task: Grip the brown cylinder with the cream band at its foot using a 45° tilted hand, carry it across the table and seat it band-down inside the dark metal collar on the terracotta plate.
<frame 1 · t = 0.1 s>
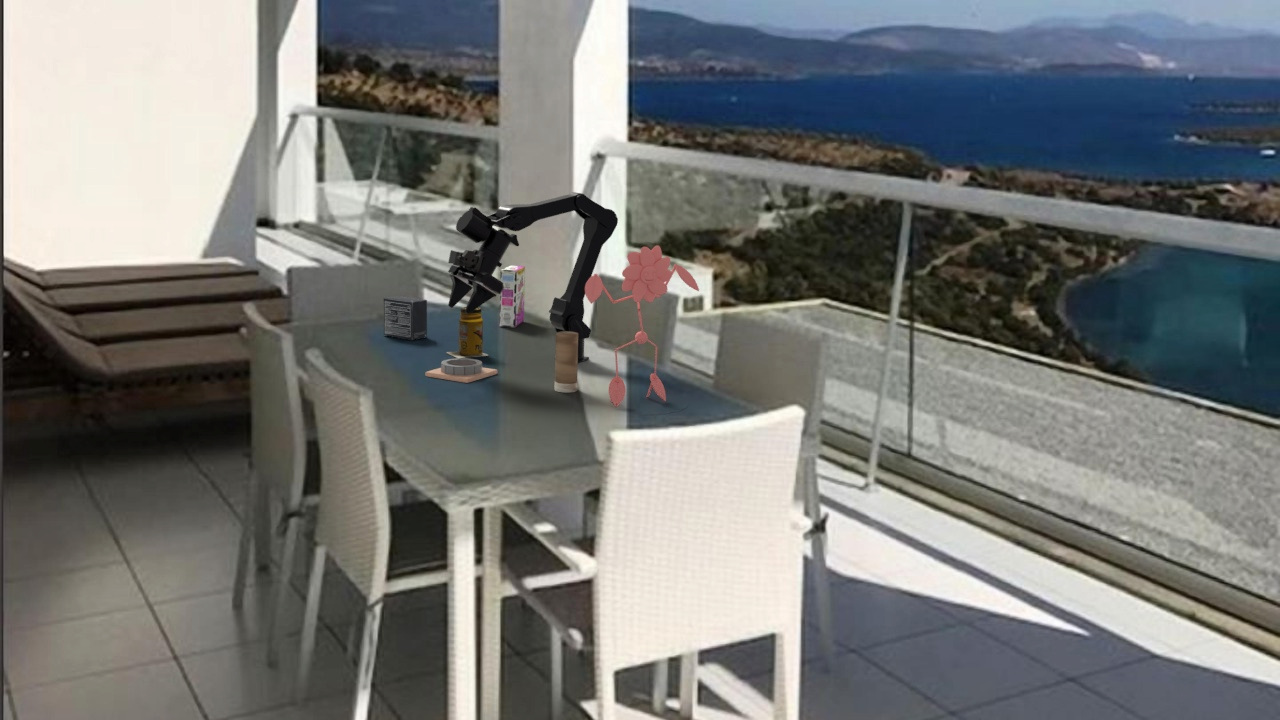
hand: (458, 309, 305), 15 cm above the table, tool tilted 35°, fingers open, 9 cm apart
brown cylinder: (565, 389, 293), on the table
figurine: (643, 407, 279), on the table
collar: (461, 374, 304), on the table
small box: (405, 337, 348), on the table
candy bar box: (512, 325, 371), on the table
condiment: (467, 355, 328), on the table
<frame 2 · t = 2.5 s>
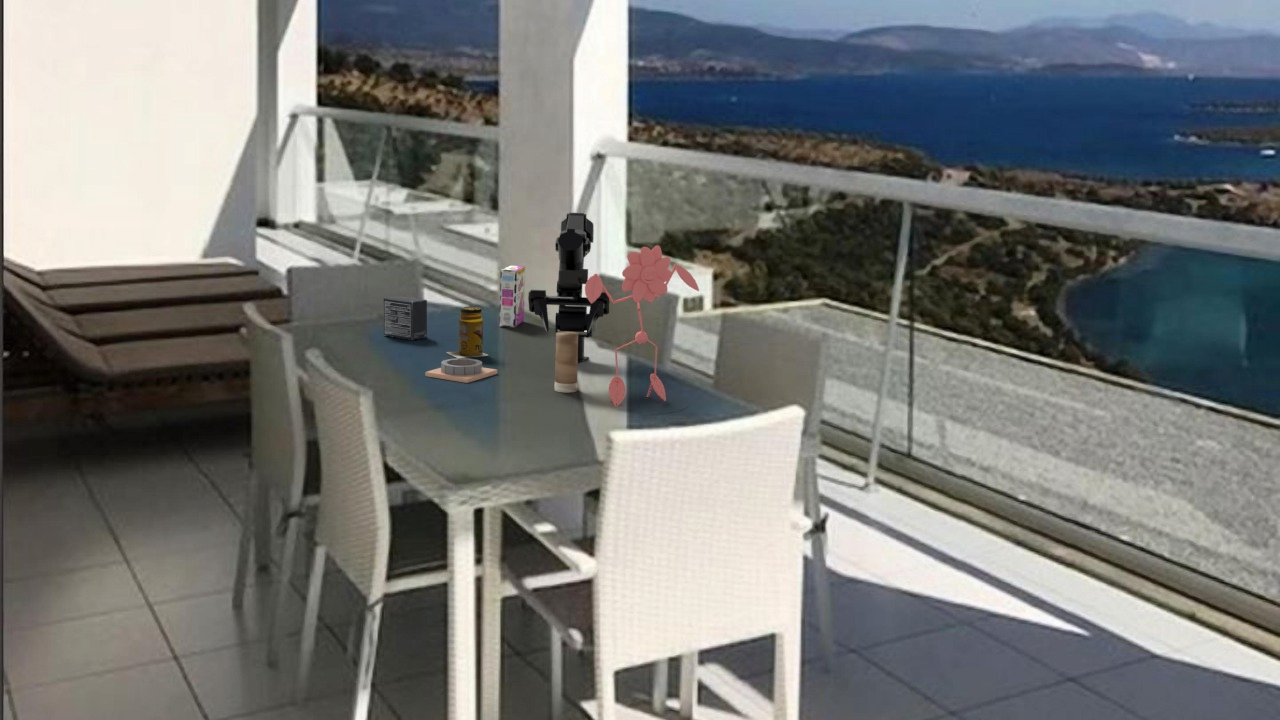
hand: (567, 331, 296), 12 cm above the table, tool tilted 45°, fingers open, 9 cm apart
nothing on the table moved.
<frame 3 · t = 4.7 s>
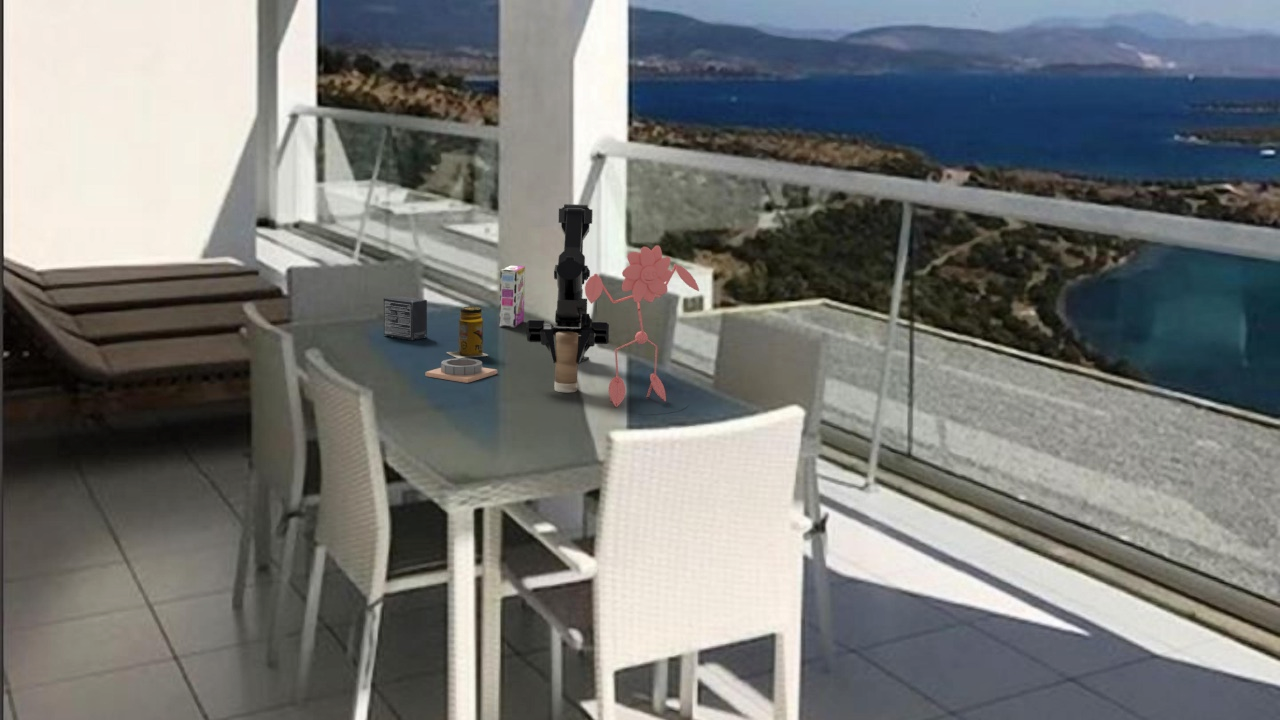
hand: (566, 362, 290), 7 cm above the table, tool tilted 45°, fingers closed on brown cylinder, 5 cm apart
brown cylinder: (565, 389, 293), on the table, touching gripper
everything else where it was.
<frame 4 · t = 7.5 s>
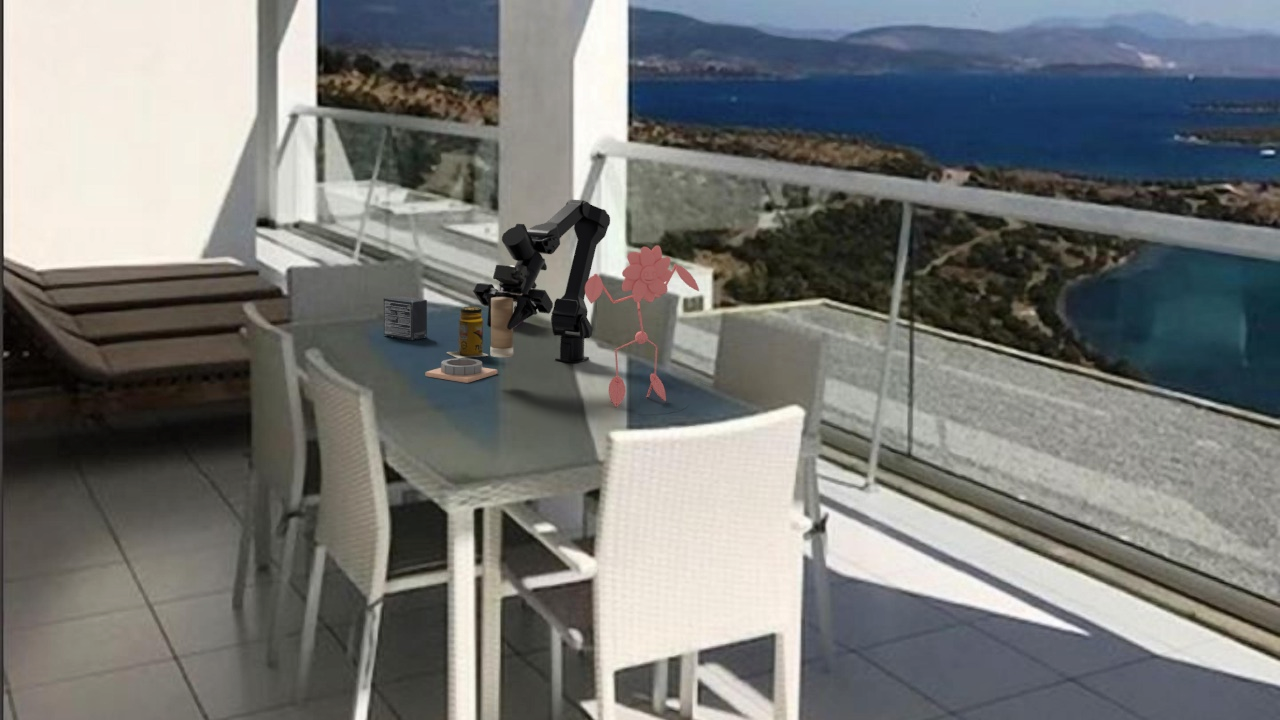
hand: (498, 327, 292), 13 cm above the table, tool tilted 45°, fingers closed on brown cylinder, 5 cm apart
brown cylinder: (501, 354, 295), point 7 cm above the table, touching gripper
everything else where it was.
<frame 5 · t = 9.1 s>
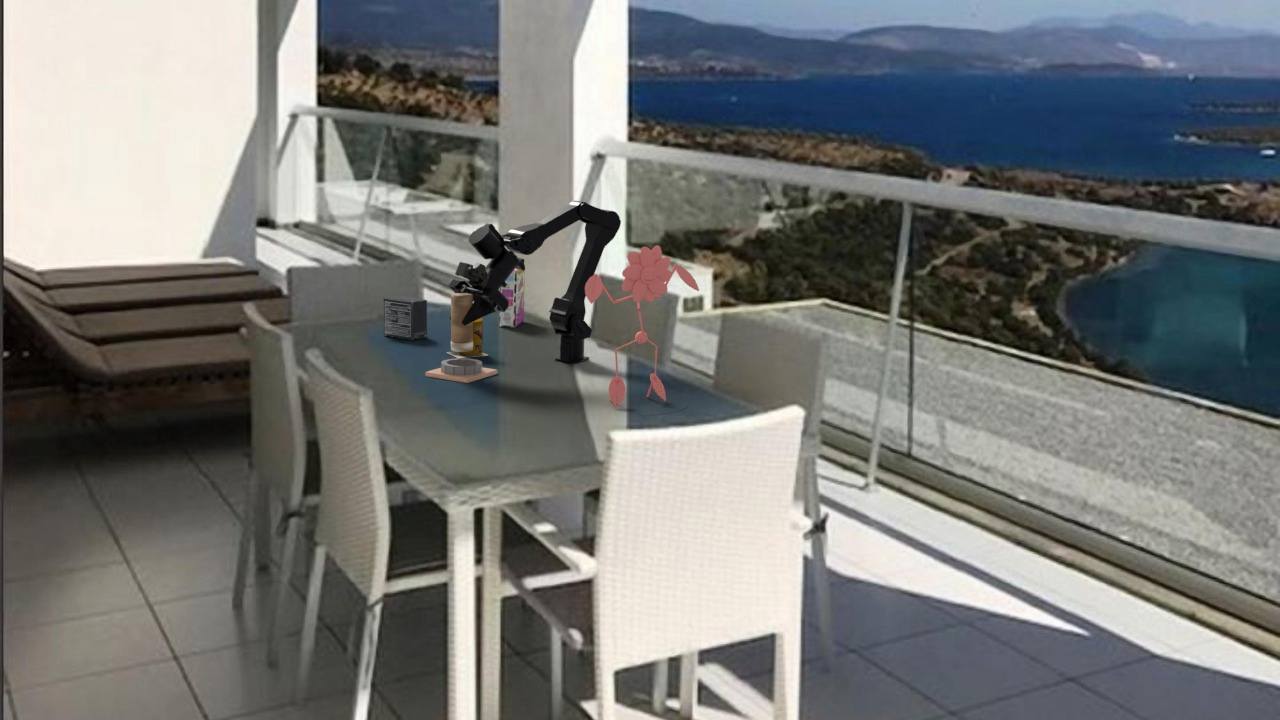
hand: (456, 322, 301), 13 cm above the table, tool tilted 45°, fingers closed on brown cylinder, 5 cm apart
brown cylinder: (461, 349, 303), point 6 cm above the table, touching gripper
everything else where it was.
when the fingers open (8 cm above the table, at t = 10.3 s): brown cylinder stays where it is, resting on collar.
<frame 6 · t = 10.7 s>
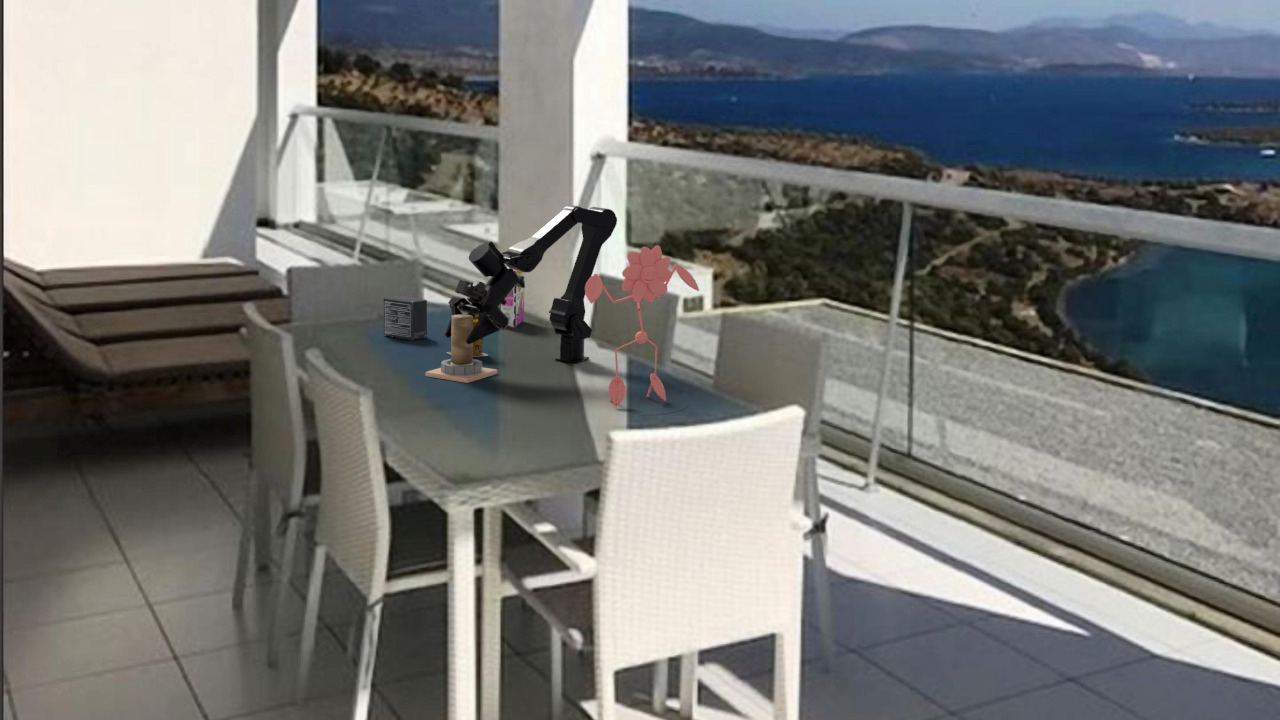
hand: (456, 339, 302), 9 cm above the table, tool tilted 45°, fingers open, 9 cm apart
brown cylinder: (461, 370, 304), point 1 cm above the table, touching collar
everything else where it was.
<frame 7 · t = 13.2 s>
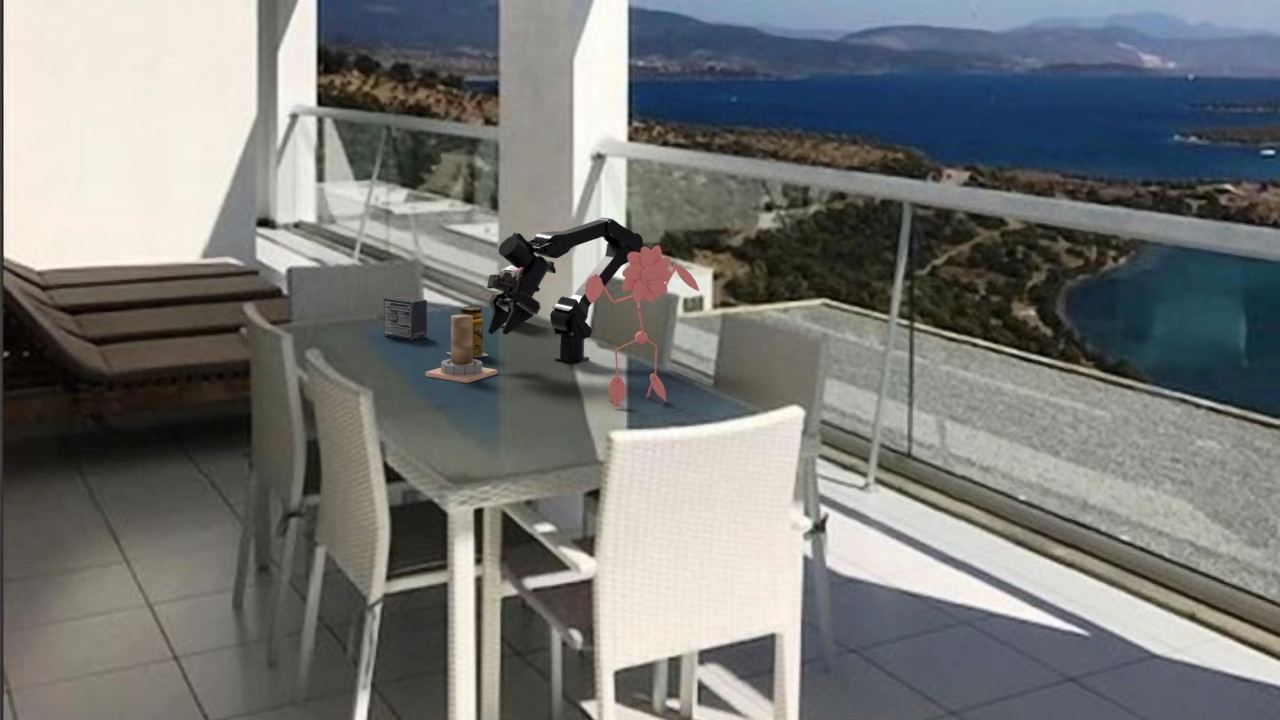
hand: (496, 333, 308), 9 cm above the table, tool tilted 35°, fingers open, 9 cm apart
nothing on the table moved.
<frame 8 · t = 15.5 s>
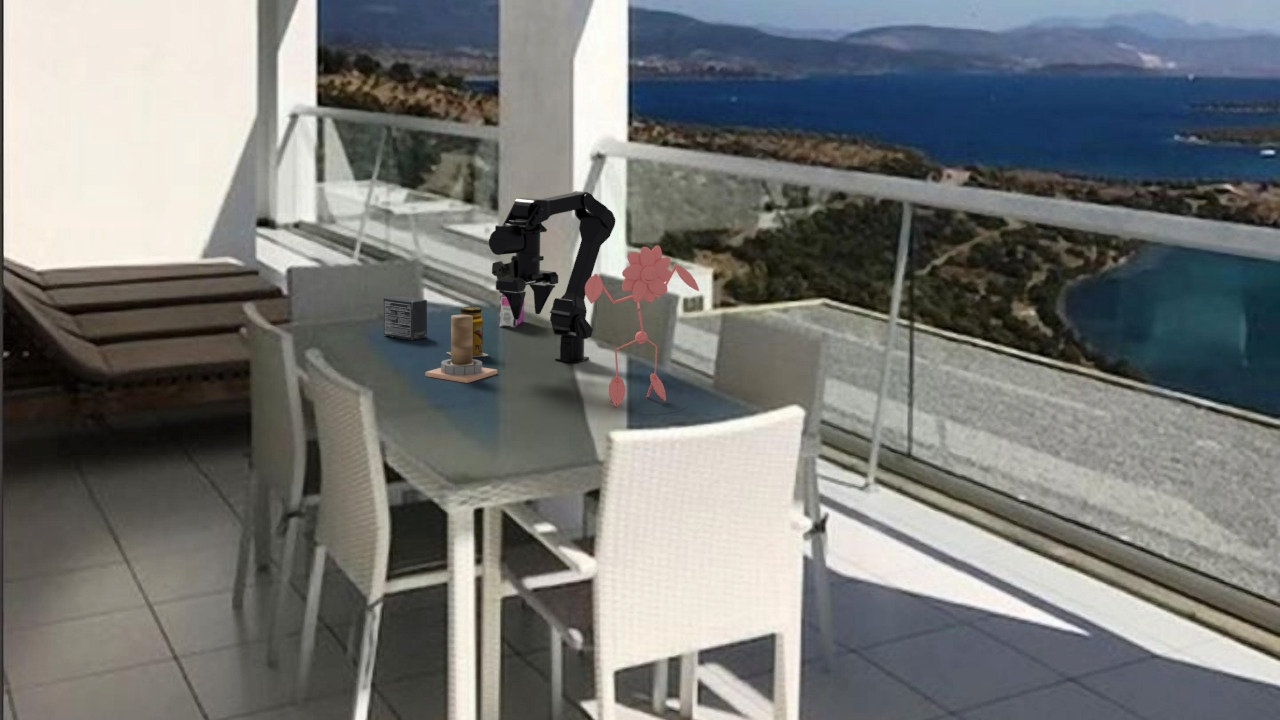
hand: (527, 316, 310), 13 cm above the table, tool pointing down, fingers open, 9 cm apart
nothing on the table moved.
at the end: brown cylinder 0.1 cm off-centre on the collar, point 1.0 cm above the collar's base; brown cylinder tilted 0°; the gripper is holding nothing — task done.
